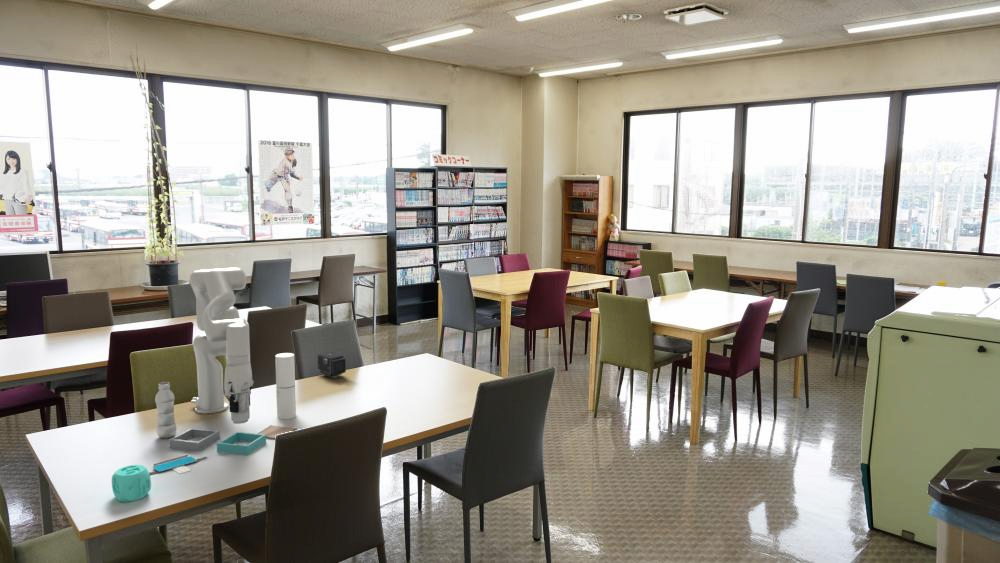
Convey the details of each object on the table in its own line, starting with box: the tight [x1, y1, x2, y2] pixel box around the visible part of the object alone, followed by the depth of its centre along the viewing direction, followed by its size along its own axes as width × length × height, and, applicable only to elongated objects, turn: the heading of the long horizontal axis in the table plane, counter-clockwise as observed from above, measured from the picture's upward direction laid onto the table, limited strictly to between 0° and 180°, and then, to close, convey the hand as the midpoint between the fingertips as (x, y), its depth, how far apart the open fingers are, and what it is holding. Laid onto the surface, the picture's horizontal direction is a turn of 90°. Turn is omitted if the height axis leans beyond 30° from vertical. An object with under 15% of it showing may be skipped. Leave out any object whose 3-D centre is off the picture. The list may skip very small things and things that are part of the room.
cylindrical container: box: [274, 352, 297, 420], centre depth 264 cm, size 7×7×25 cm
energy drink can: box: [230, 382, 251, 425], centre depth 232 cm, size 6×6×15 cm
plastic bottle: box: [154, 381, 177, 439], centre depth 241 cm, size 6×7×20 cm
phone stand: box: [149, 454, 208, 476], centre depth 216 cm, size 20×12×2 cm, turn 138°
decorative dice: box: [111, 464, 152, 503], centre depth 195 cm, size 8×8×8 cm
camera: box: [317, 351, 347, 379], centre depth 322 cm, size 11×11×15 cm
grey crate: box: [168, 427, 221, 452], centre depth 236 cm, size 12×12×3 cm
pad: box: [256, 424, 298, 440], centre depth 247 cm, size 11×11×1 cm
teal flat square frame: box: [216, 431, 267, 456], centre depth 233 cm, size 12×12×3 cm
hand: (240, 408), depth 232 cm, fingers closed on energy drink can, 6 cm apart
